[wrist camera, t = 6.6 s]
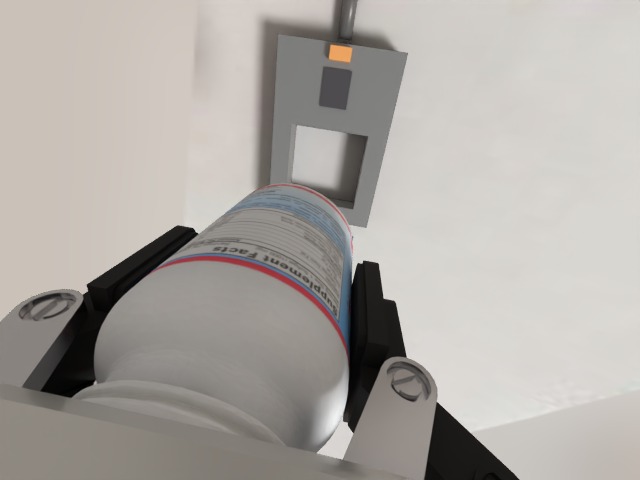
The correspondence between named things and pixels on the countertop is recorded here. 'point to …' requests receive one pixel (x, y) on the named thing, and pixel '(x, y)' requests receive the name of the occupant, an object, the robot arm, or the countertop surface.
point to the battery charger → (336, 102)
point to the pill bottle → (240, 325)
